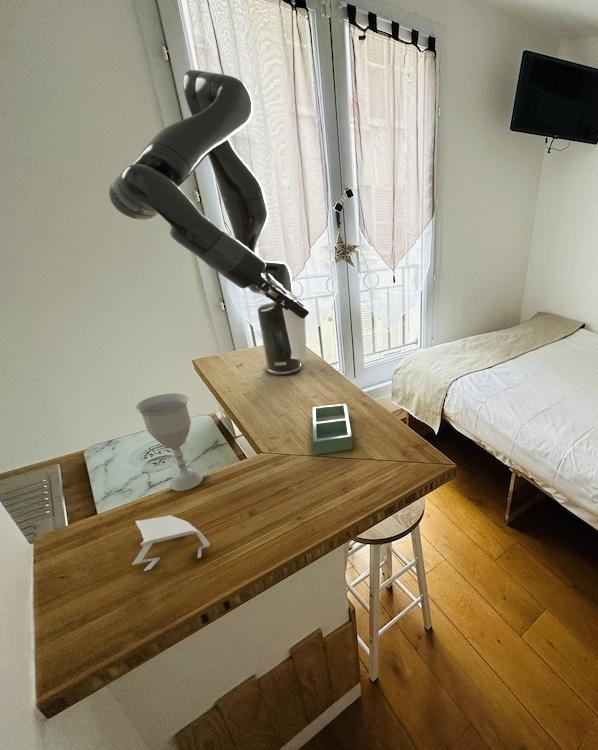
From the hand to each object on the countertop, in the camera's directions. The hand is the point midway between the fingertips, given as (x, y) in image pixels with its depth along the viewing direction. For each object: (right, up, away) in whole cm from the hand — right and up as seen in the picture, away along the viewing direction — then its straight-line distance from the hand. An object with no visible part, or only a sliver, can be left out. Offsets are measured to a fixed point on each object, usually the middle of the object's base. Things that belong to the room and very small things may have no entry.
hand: (303, 311), depth 92 cm
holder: (+5, -29, +4) cm, 30 cm away
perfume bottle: (-3, -10, +4) cm, 11 cm away
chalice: (-16, -36, -15) cm, 42 cm away
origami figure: (-7, -44, -28) cm, 53 cm away
